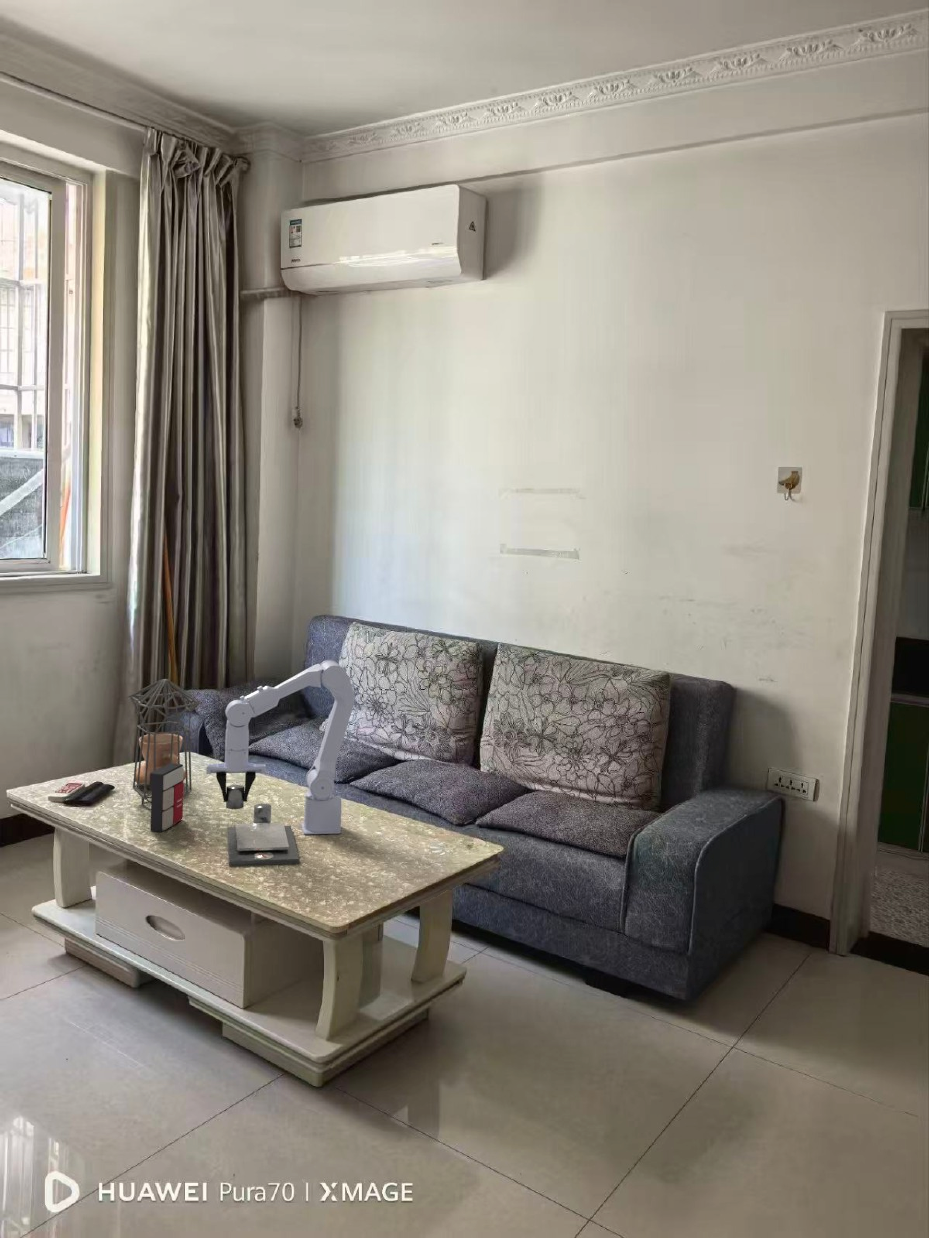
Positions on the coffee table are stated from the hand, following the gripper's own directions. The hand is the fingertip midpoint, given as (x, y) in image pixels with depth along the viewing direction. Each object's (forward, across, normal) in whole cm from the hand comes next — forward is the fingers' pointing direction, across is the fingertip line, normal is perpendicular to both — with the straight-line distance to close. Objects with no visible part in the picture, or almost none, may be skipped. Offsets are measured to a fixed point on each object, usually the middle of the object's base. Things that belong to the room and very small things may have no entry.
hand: (235, 800), depth 252 cm
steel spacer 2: (+8, -7, -6) cm, 13 cm away
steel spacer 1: (+2, 0, 0) cm, 2 cm away
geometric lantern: (+8, +19, -23) cm, 31 cm away
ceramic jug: (+8, +20, -42) cm, 47 cm away
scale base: (+8, -6, +11) cm, 15 cm away
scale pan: (+7, -6, +9) cm, 13 cm away
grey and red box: (+8, +17, -7) cm, 20 cm away
